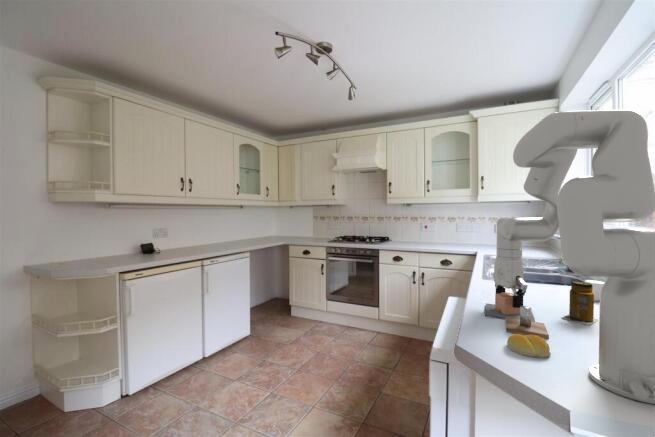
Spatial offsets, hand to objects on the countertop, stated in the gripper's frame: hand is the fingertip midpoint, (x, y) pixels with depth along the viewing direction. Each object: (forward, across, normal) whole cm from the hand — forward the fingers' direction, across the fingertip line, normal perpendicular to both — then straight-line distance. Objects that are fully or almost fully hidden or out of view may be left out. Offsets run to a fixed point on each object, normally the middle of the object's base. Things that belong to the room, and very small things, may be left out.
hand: (508, 303), depth 102 cm
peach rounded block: (+3, 0, 0) cm, 3 cm away
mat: (+4, 0, 0) cm, 4 cm away
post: (+3, +14, -3) cm, 15 cm away
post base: (+4, +14, -4) cm, 15 cm away
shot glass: (+4, -18, +46) cm, 49 cm away
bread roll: (+4, +27, -12) cm, 30 cm away
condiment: (+4, +6, +20) cm, 21 cm away
